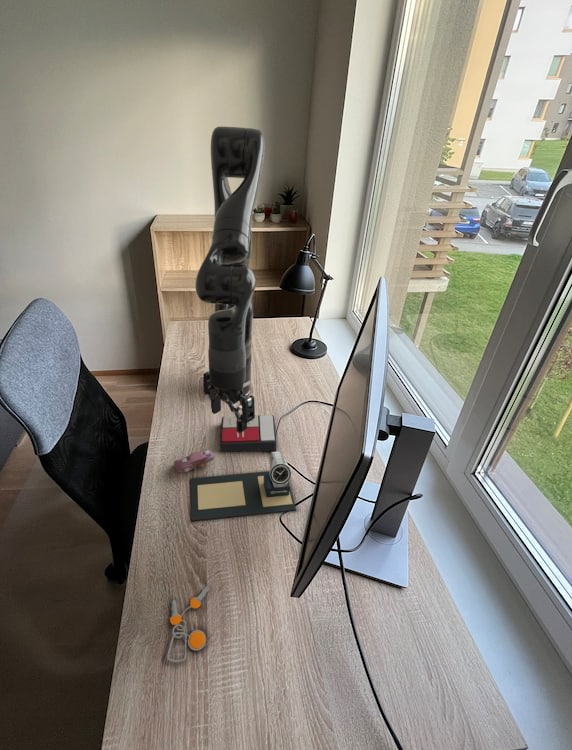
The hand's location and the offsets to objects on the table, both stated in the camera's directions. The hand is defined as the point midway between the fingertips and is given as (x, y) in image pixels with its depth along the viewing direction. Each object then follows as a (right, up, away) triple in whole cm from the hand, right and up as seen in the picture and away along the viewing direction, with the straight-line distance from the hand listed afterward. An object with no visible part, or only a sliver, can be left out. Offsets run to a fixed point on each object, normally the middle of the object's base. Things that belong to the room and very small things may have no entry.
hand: (228, 421), depth 90 cm
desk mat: (+3, -19, +7) cm, 20 cm away
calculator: (+4, -8, +23) cm, 24 cm away
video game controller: (-9, -14, +14) cm, 21 cm away
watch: (+11, -18, +7) cm, 22 cm away
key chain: (-7, -35, -17) cm, 39 cm away
